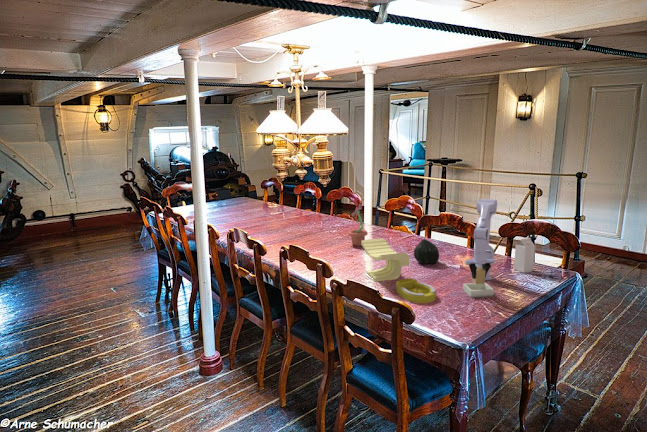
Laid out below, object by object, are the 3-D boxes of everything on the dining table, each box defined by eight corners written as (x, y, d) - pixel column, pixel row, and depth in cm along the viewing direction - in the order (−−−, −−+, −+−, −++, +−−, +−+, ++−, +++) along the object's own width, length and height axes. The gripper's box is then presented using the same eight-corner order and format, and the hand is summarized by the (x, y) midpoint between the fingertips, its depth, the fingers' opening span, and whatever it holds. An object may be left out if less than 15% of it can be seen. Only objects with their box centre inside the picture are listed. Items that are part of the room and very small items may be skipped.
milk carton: (513, 269, 240) (516, 237, 236) (523, 267, 242) (525, 236, 238) (523, 273, 233) (526, 240, 229) (533, 271, 236) (535, 239, 232)
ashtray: (414, 285, 220) (415, 276, 219) (443, 299, 202) (443, 289, 201) (390, 291, 213) (390, 282, 212) (417, 306, 195) (417, 296, 194)
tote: (462, 290, 212) (463, 283, 211) (484, 289, 212) (485, 282, 212) (470, 297, 202) (471, 291, 201) (493, 296, 203) (494, 289, 202)
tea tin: (471, 280, 208) (472, 267, 207) (480, 280, 209) (481, 267, 207) (475, 284, 204) (476, 270, 202) (484, 283, 204) (485, 270, 203)
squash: (440, 259, 244) (438, 236, 251) (414, 259, 247) (413, 236, 254) (438, 268, 256) (437, 246, 263) (414, 268, 259) (413, 246, 266)
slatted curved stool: (408, 283, 222) (409, 251, 218) (381, 287, 218) (381, 254, 214) (386, 266, 250) (386, 237, 247) (361, 269, 246) (361, 240, 243)
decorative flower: (353, 240, 308) (352, 201, 301) (370, 242, 302) (370, 202, 295) (345, 246, 295) (344, 204, 288) (363, 248, 289) (363, 205, 282)
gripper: (469, 254, 198) (467, 281, 201) (498, 253, 199) (496, 279, 202) (463, 250, 205) (462, 276, 208) (491, 249, 206) (489, 274, 209)
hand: (478, 277), depth 206 cm, fingers closed on tea tin, 4 cm apart
